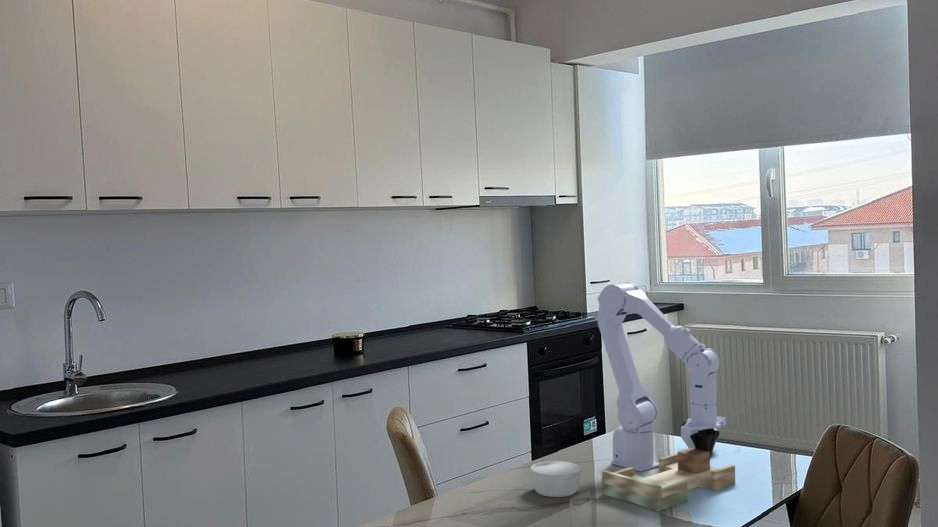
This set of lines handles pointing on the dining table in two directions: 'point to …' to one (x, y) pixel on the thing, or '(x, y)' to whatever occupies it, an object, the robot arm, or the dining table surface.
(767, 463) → the dining table surface
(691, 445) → the die
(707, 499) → the dining table surface
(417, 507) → the dining table surface
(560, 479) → the ramekin
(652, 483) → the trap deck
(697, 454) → the walnut block
